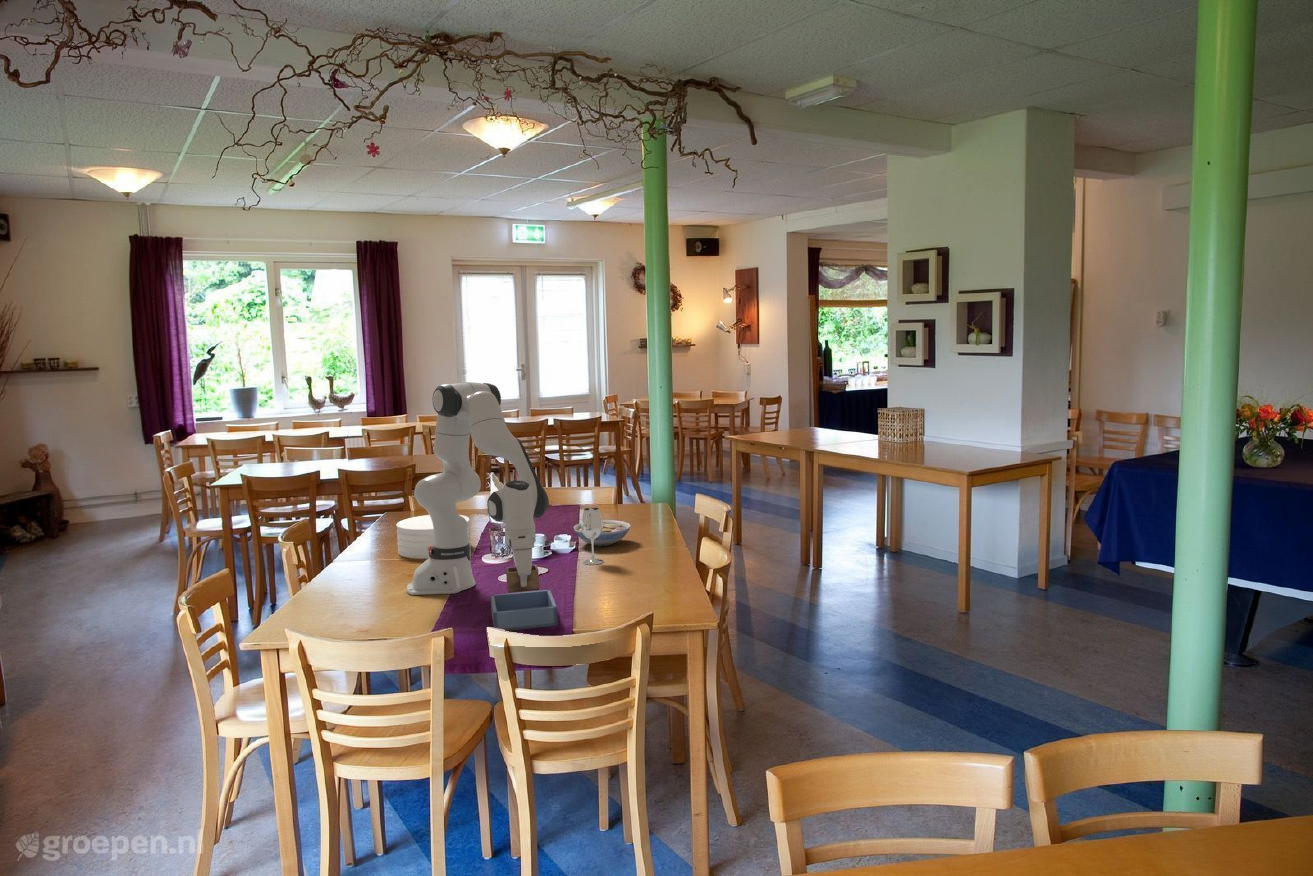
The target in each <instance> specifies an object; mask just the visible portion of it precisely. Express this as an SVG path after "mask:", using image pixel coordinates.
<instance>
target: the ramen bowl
mask: <svg viewBox="0 0 1313 876" xmlns="http://www.w3.org/2000/svg"><path fill="white" fill-rule="evenodd" d="M581 523H582V522H581ZM581 523H578V524H575V525H574V526H573V529H574V531H575V534H576V535H577V536H578V537H579V539H580V540H582V541H583V542H585V543H587V544H591V540H590V539H588V538H586V537H585V536H584V535H583V533H582V530H581ZM602 525H603V530H602V533H601V535H600V536H599V537H598V538H596V539H594V546H595V547H609V546H611V545H613V544H615V543H618V542H619V541H621V540H622V539H623V538H625V536H626V535H627V534H628V532H629V530H630V529H631V527H632V526H631V524H630V523H629V522H626V521H621V520H615V519H614V520H613V519H611V520H610V519H609V520H608V519H606V520H605V519H603V520H602ZM591 545H592V544H591Z"/></svg>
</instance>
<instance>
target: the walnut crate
mask: <svg viewBox="0 0 1313 876" xmlns="http://www.w3.org/2000/svg"><path fill="white" fill-rule="evenodd" d="M505 575H506V577H505V578H506V579H505V580H506V590H507V594H508V593H519V592H530V591H540V575H539V569H538V566H537V564H532V568H531V574H530V575H527V586H526V587H521V584H520V576H519V575H518V572H517V569H516V566H511V567H505Z"/></svg>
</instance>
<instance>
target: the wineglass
mask: <svg viewBox="0 0 1313 876" xmlns="http://www.w3.org/2000/svg"><path fill="white" fill-rule="evenodd" d="M581 517H582V518H581V530H582V533H583V535H584V536H585V537H586V538H588V539H590V540H591V557H590V558H588V559H584V560H583V561H582V563H583V564H584V565H587V566H588V565H589V566H590V565H591V566H595V565H601V564H603V563H604V560H603V559H601V558H596V557H595V551H594V549H595V548H594V546H595V545H594V539H596V538H598V537H599V536H600V535H601V533H602V530H603V525H602V516H601V512H600V508H599V507H595V506H594V507H585V508H583V511H582V516H581Z"/></svg>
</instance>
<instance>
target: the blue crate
mask: <svg viewBox="0 0 1313 876" xmlns="http://www.w3.org/2000/svg"><path fill="white" fill-rule="evenodd" d="M490 609H491V618H492V625H493V628H494V627H498V628H502V629H506V630H510V631H518V630H529V629H537V628H538V629H539V628H546V627H558V625H559V624H558V606H557V604H556V601H555V599H554V596H553V594H552V591H551V589H544V590H543V589H542V590H533V591H523V592H513V593H508V592H507V593H499V594H498V593H497V594H490Z"/></svg>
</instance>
